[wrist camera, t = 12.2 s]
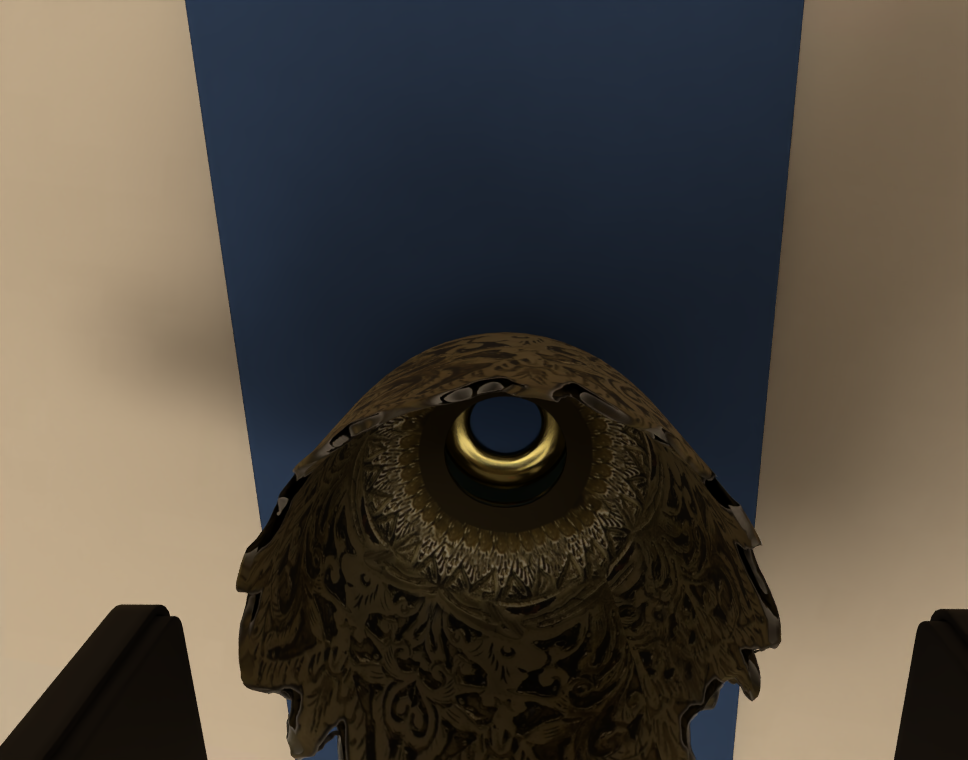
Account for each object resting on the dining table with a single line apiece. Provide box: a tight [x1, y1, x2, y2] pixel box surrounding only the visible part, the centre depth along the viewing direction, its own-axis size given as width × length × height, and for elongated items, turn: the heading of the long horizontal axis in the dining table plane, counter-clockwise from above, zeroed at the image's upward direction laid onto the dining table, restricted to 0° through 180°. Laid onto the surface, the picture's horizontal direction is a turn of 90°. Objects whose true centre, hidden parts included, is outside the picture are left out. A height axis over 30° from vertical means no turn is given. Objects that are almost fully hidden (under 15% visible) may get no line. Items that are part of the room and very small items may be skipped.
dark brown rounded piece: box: [236, 332, 781, 760], centre depth 15 cm, size 8×7×8 cm
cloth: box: [185, 0, 804, 760], centre depth 19 cm, size 12×22×1 cm, turn 2°
